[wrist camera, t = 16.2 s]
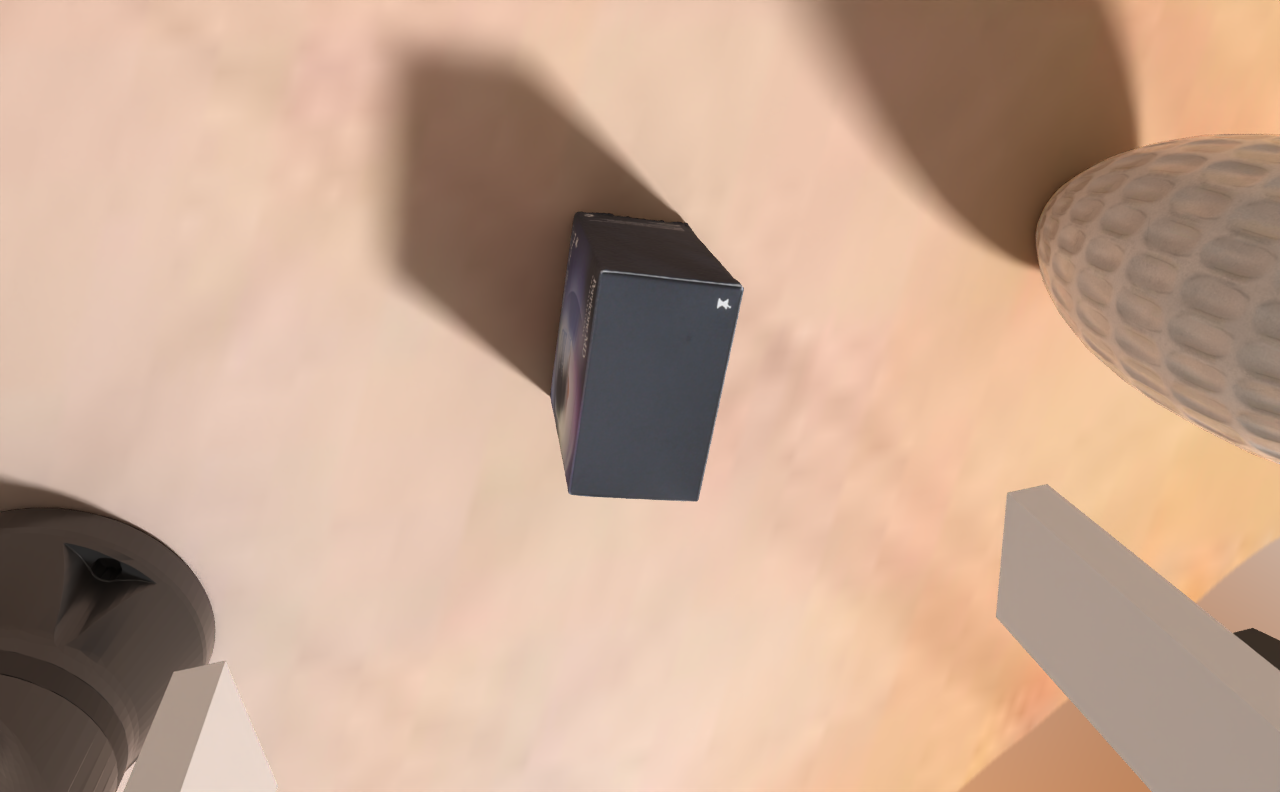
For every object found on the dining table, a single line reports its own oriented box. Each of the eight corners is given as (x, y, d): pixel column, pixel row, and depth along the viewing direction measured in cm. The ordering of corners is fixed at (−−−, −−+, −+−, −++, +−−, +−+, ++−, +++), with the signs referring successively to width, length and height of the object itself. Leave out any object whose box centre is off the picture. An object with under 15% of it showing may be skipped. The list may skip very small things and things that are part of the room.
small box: (566, 206, 42) (594, 264, 33) (691, 221, 44) (753, 280, 35) (542, 399, 47) (562, 499, 37) (658, 407, 48) (705, 505, 39)
